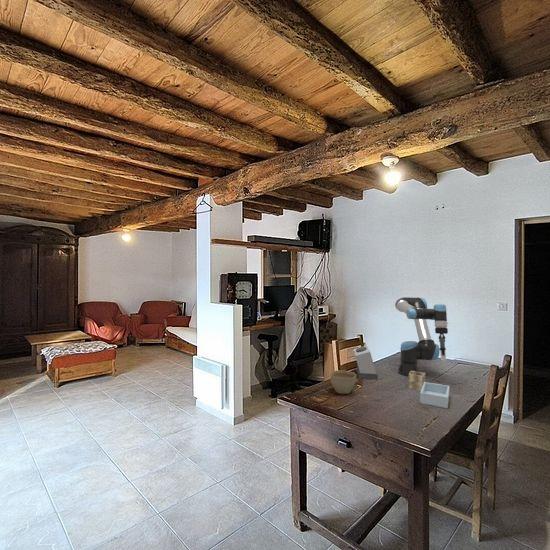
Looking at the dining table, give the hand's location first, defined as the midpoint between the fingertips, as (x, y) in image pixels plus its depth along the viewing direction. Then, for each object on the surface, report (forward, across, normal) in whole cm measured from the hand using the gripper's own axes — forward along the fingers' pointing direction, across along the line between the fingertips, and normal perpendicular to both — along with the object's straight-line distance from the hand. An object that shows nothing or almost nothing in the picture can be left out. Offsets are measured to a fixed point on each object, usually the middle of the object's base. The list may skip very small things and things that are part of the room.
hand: (443, 360), depth 218 cm
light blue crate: (+22, -23, +6) cm, 32 cm away
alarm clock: (+13, +6, +52) cm, 54 cm away
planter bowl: (+20, -35, +58) cm, 71 cm away
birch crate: (+18, -5, +17) cm, 25 cm away
